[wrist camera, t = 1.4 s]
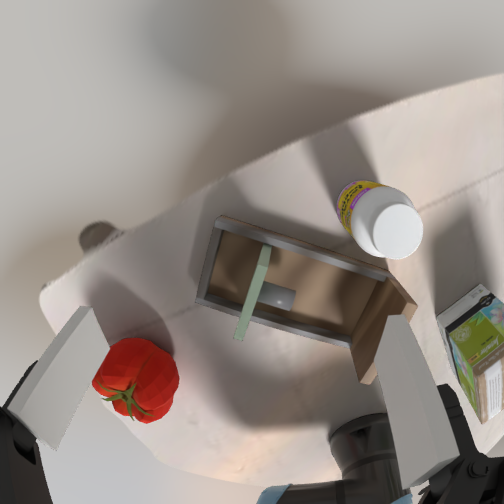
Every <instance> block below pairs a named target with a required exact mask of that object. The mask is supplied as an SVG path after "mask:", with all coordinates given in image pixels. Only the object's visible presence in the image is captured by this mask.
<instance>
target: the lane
mask: <svg viewBox="0 0 504 504" xmlns="http://www.w3.org/2000/svg"><path fill="white" fill-rule="evenodd" d="M264 243H267V244H270V245H272V248H271V254H270V259H269V265H268V269H267V272H266V275H265V278H264V281H267V282H270V283H273V284H276V285H279V286H282V287H286V288H289V289H292V290H295V291H296V295H295V299H294V303H293V305H292V308H291V310H290V311H288V310H284V309H281V308H278V307H274V306H271V305H268V304H265V303H262V302H258V301H256V304H255V307H254V310H253V312H252V315H251V318H250V321H253V322H256V323H259V324H263V325H266V326H269V327H273V328H276V329H279V330H283V331H286V332H290V333H293V334H297V335H300V336H304V337H308V338H311V339H315V340H319V341H322V342H326V343H330V344H334V345H338V346H342V347H346V348H350V350H351V354H352V357H353V361H354V365H355V368H356V372H357V376H358V379H359V383H363V384H369V385H370V384H371V383H372V381H373V380H374V378H375V377H376V375H377V370H376V366H375V363H374V358H375V355H376V352H377V349H378V346H379V343H380V340H381V337H382V334H383V331H384V328H385V325H386V321H387V318H388V316H389V315H403V314H404V315H405V317H406V319H407V321H408V323H409V322H410V320H411V318H412V317H413V315H414V313H415V311H416V309H417V307H418V305H417V304H416V303H415V301H414V300H413V299H412V298H411V296H410V295H409V294H408V293H407V292H406V290H405V289H404V288H403V287H402V286H401V284H400V283H399V282H398V281H397V280H396V278H395V277H394V276H393V275H392V274H391V273H390V271H388V270H385V269H382V268H379V267H376V266H373V265H371V264H368V263H365V262H362V261H359V260H356V259H353V258H350V257H348V256H345V255H342V254H339V253H336V252H333V251H330V250H327V249H324V248H321V247H318V246H315V245H312V244H309V243H306V242H303V241H300V240H297V239H294V238H291V237H288V236H285V235H282V234H279V233H276V232H272V231H269V230H266V229H263V228H260V227H257V226H254V225H250V224H247V223H244V222H241V221H238V220H235V219H231V218H228V217H225V216H222V215H221V216H220V217H219V218H217V219H216V220H215V224H214V227H213V231H212V235H211V239H210V243H209V247H208V251H207V255H206V259H205V263H204V267H203V271H202V275H201V279H200V283H199V287H198V291H197V296H196V300H195V303H198V304H201V305H204V306H207V307H210V308H213V309H216V310H219V311H222V312H225V313H228V314H231V315H234V316H237V317H240V315H241V312H242V308H243V305H244V302H245V299H246V296H247V293H248V290H249V287H250V284H251V281H252V278H253V274H254V271H255V268H256V265H257V262H258V259H259V256H260V253H261V250H262V247H263V244H264Z"/></svg>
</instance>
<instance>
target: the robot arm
mask: <svg viewBox="0 0 504 504" xmlns="http://www.w3.org/2000/svg"><path fill="white" fill-rule="evenodd" d="M109 350H110V347H109V345H108V343H107V341H106V339H105V336H104V334H103V332H102V330H101V328H100V325H99V323H98V321H97V318H96V316H95V314H94V311H93V309H92V307H85V306H80V307H79V308H78V309H77V311H76V312H75V313H74V314H73V316H72V317H71V318H70V319H69V321H68V322H67V323H66V324H65V326H64V327H63V328H62V330H61V331H60V332H59V333H58V335H57V336H56V337H55V339H54V340H53V342H52V343H51V344H50V346H49V347H48V348H47V349H46V351H45V352H44V354H43V355H42V356H41V358H40V359H39V361H38V360H37V361H36V362H34V363H33V364H32V365H31V366H29V368H28V369H27V370H26V372H25V373H24V376H23V377H22V378H21V379H20V381H19V383H18V384H17V385H16V387H15V388H14V390H13V391H12V393H11V394H10V396H9V398H8V399H7V401H6V402H5V404H4V405H3V407H2V408H1V407H0V504H53V502H52V499H51V496H50V493H49V489H48V486H47V482H46V478H45V474H44V471H43V466H42V462H41V457H40V452H39V447H38V444H37V443H36V439H38V440H39V441H41V442H42V443H43V444H44V445H45V446H47V447H49V448H51V449H53V450H55V451H57V449H58V447H59V444H60V442H61V440H62V438H63V436H64V434H65V432H66V430H67V428H68V426H69V424H70V422H71V420H72V418H73V416H74V414H75V412H76V410H77V408H78V406H79V404H80V402H81V400H82V398H83V397H84V395H85V393H86V391H87V389H88V387H89V385H90V384H91V382H92V380H93V378H94V376H95V375H96V373H97V371H98V369H99V367H100V366H101V364H102V362H103V360H104V359H105V357H106V355H107V353H108V352H109ZM374 363H375V366H376V370H377V374H378V377H379V381H380V385H381V389H382V392H383V396H384V400H385V404H386V408H387V413H388V414H373V415H368V416H364V417H361V418H358V419H355V420H353V421H351V422H349V423H347V424H345V425H343V426H342V427H341V428H339V429H338V430H337V431H336V432H335V433H334V434H333V436H332V437H331V440H330V447H331V453H332V455H333V457H334V458H335V460H336V462H337V464H338V466H339V468H340V470H341V472H342V480H338V481H330V482H322V483H312V484H297V485H293V484H288V485H281V486H271V487H268V488H266V489H265V490H264V491H263V492H262V493H261V495H260V497H259V499H258V501H257V504H413V503H412V494H411V491H410V487H414V486H417V485H421V484H422V483H424V482H425V481H427V480H428V479H429V484H430V485H428V486H427V487H425V488H424V489H422V490H421V491H420V492H419V493H418V495H421V494H423V493H424V494H423V496H422V498H421V499H420V501H419V503H418V504H504V457H495V458H488V457H487V456H486V455H484V454H483V453H479V451H478V450H477V448H476V446H475V444H474V441H473V438H472V435H471V432H470V429H469V426H468V423H467V421H466V418H465V415H463V414H464V413H463V410H462V407H461V406H460V402H459V400H458V397H457V395H456V393H455V392H454V390H453V389H452V388H451V387H450V386H449V385H448V384H443V385H438V386H436V384H435V381H434V379H433V376H432V374H431V372H430V369H429V367H428V365H427V362H426V360H425V358H424V355H423V353H422V351H421V349H420V346H419V344H418V342H417V340H416V338H415V336H414V333H413V331H412V329H411V327H410V325H409V323H408V321H407V319H406V317H405V315H404V314H403V315H389V316H388V318H387V321H386V325H385V328H384V331H383V334H382V337H381V340H380V343H379V346H378V349H377V352H376V355H375V358H374Z"/></svg>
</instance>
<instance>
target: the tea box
mask: <svg viewBox="0 0 504 504" xmlns="http://www.w3.org/2000/svg"><path fill="white" fill-rule="evenodd" d="M436 319H437V322H438V326H439V329H440V332H441V335H442V338H443V342H444V344H445V348H446V351H447V355H448V358H449V362H450V365H451V368H452V372H453V373H454V375H455V377H456V379H457V380H458V382H459V384H460V385H461V387H462V389H463V391H464V393H465V394H466V396H467V398H468V400H469V402H470V404H471V405H472V407H473V409H474V411H475V413H476V415H477V417H478V419H479V420H480V422H481V424H484V423H485V422H487V421H488V420H490V419H491V418H492V417H494V416H495V415H496V414H498V413H499V412H500V411H502V410H503V409H504V303H503V302H501V301H500V300H499V299H498V298H497V297H495V296H494V295H493V294H492V293H491V292H490V291H489V290H488V289H486V288H485V287H484V286H483V285H482V284H479V285H478V286H476V287H475V288H474V289H473V290H471V291H470V292H469V293H467V294H466V295H465V296H464V297H462V298H461V299H460V300H458V301H457V302H456V303H454V304H453V305H452V306H450V307H449V308H448V309H446V310H445V311H444V312H442V313H441V314H439V315H438V316H437V317H436Z"/></svg>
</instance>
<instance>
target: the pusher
mask: <svg viewBox="0 0 504 504" xmlns="http://www.w3.org/2000/svg"><path fill="white" fill-rule="evenodd" d="M271 248H272V245H270V244H267V243H264V244H263V247H262V250H261V253H260V256H259V259H258V262H257V265H256V268H255V271H254V274H253V278H252V281H251V284H250V287H249V290H248V293H247V296H246V299H245V302H244V305H243V308H242V312H241V315H240V318H239V321H238V325H237V328H236V331H235V334H234V339H238V340H241V341H243V338H244V335H245V332H246V329H247V327H248V324H249V321H250V318H251V315H252V312H253V310H254V307H255V304H256V301H258V302H262V303H265V304H268V305H271V306H274V307H278V308H281V309H284V310H288V311H290V310H291V308H292V305H293V303H294V299H295V295H296V291H295V290H292V289H289V288H286V287H282V286H279V285H276V284H273V283H270V282H267V281H264V278H265V275H266V272H267V269H268V265H269V259H270V254H271Z"/></svg>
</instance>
